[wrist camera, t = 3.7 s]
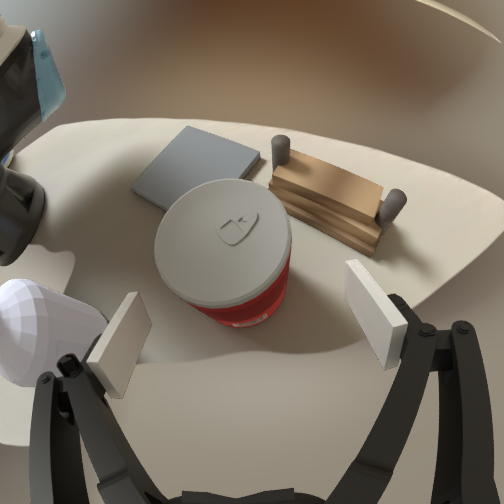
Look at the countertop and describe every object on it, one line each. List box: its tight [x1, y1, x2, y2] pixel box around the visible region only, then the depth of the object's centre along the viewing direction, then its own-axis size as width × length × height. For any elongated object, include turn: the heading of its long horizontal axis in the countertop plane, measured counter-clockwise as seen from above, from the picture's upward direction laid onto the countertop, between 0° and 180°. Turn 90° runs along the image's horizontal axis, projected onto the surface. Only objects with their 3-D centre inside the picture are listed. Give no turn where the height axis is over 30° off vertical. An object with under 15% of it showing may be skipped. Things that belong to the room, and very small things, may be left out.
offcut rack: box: [268, 135, 407, 257], centre depth 24 cm, size 12×5×7 cm, turn 58°
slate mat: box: [130, 126, 260, 211], centre depth 30 cm, size 11×11×1 cm
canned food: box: [154, 178, 292, 327], centre depth 20 cm, size 8×8×11 cm
